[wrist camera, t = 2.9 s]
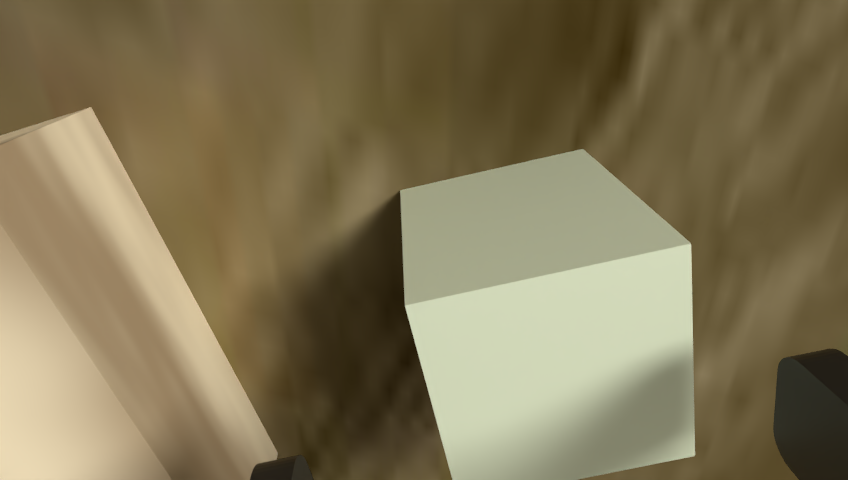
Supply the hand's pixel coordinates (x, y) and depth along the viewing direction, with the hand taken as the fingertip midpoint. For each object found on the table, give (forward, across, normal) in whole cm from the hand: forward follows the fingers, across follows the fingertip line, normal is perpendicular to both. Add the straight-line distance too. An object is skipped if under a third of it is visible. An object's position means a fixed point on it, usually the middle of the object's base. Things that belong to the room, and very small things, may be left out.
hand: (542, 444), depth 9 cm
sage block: (+7, -1, 0) cm, 7 cm away
